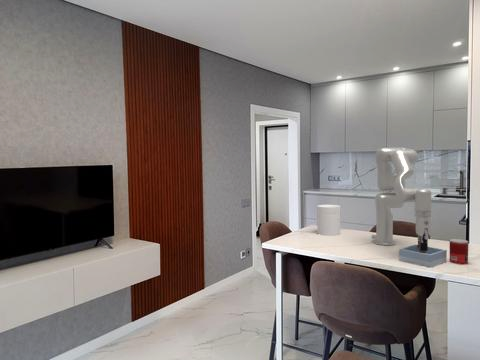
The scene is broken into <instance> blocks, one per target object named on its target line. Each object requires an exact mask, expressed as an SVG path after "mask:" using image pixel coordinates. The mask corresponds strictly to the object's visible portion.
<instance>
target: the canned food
mask: <svg viewBox="0 0 480 360" xmlns="http://www.w3.org/2000/svg"><path fill="white" fill-rule="evenodd" d="M449 262H450V263H453V264H457V265H466V264H468V263H469V241H468V240H465V239H459V238H451V239H449Z"/></svg>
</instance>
